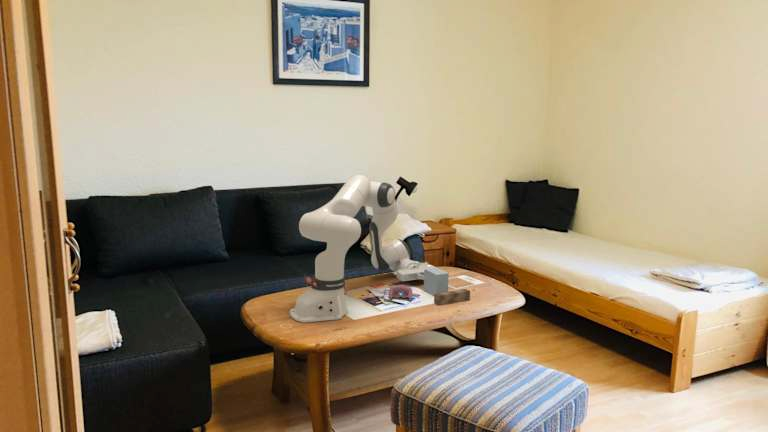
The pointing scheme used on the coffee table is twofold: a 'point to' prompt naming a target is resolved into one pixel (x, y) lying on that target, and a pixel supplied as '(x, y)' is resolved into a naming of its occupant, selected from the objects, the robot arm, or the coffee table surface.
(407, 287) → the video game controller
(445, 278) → the block
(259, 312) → the coffee table surface
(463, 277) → the photo frame
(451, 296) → the board
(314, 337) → the coffee table surface
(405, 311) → the coffee table surface
